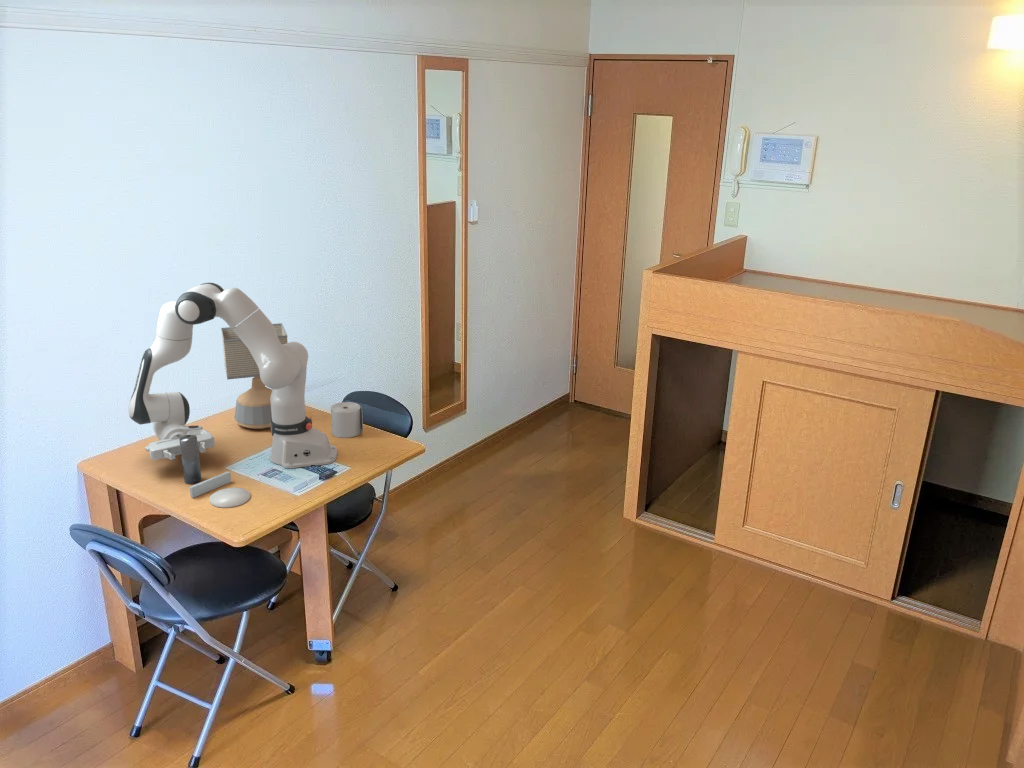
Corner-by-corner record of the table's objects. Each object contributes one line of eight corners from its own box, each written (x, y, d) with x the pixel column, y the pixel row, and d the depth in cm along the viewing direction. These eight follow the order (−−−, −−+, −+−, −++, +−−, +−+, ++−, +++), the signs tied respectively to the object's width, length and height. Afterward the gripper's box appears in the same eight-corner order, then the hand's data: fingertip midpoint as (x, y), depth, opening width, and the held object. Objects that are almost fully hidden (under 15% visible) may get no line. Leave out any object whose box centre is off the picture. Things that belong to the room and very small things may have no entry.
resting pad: (253, 488, 265) (253, 487, 265) (246, 507, 254) (246, 505, 253) (214, 489, 263) (214, 488, 263) (205, 508, 252) (205, 506, 252)
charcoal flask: (203, 476, 272) (198, 434, 266) (199, 484, 267) (194, 441, 262) (186, 477, 271) (181, 434, 266) (182, 484, 266) (177, 441, 261)
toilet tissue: (334, 426, 313) (333, 401, 309) (366, 426, 313) (365, 401, 310) (329, 438, 303) (328, 412, 299) (362, 438, 303) (361, 412, 300)
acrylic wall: (229, 480, 269) (228, 471, 268) (231, 481, 269) (230, 472, 268) (190, 497, 259) (189, 486, 257) (192, 497, 258) (191, 487, 257)
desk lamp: (233, 435, 302) (223, 339, 289) (229, 416, 319) (220, 324, 306) (294, 428, 310) (287, 334, 297) (287, 410, 326) (281, 319, 314)
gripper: (142, 437, 272) (152, 452, 262) (205, 424, 283) (218, 438, 273) (144, 455, 274) (155, 470, 264) (207, 441, 285) (220, 455, 275)
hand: (188, 454), depth 268 cm, fingers open, 8 cm apart
